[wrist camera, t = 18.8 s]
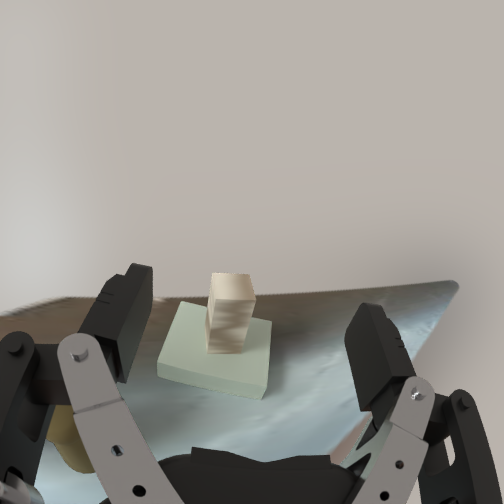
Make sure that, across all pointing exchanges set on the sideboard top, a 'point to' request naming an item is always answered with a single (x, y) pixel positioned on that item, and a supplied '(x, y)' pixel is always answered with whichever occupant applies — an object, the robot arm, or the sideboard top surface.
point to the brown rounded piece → (68, 439)
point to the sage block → (215, 356)
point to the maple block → (228, 313)
